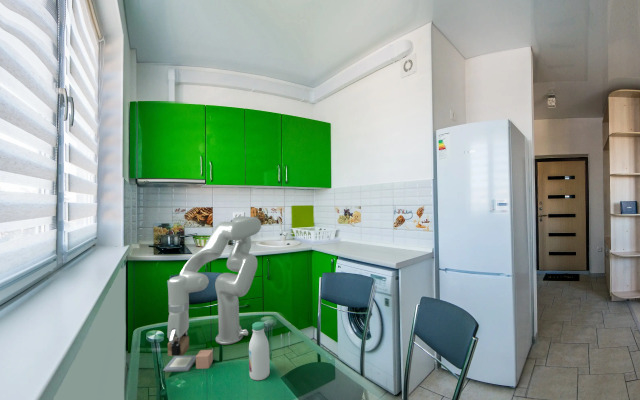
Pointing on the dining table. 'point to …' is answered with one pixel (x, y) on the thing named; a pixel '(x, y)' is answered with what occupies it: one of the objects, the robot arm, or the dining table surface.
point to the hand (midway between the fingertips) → (179, 350)
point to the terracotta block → (204, 359)
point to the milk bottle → (259, 353)
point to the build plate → (180, 363)
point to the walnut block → (183, 346)
